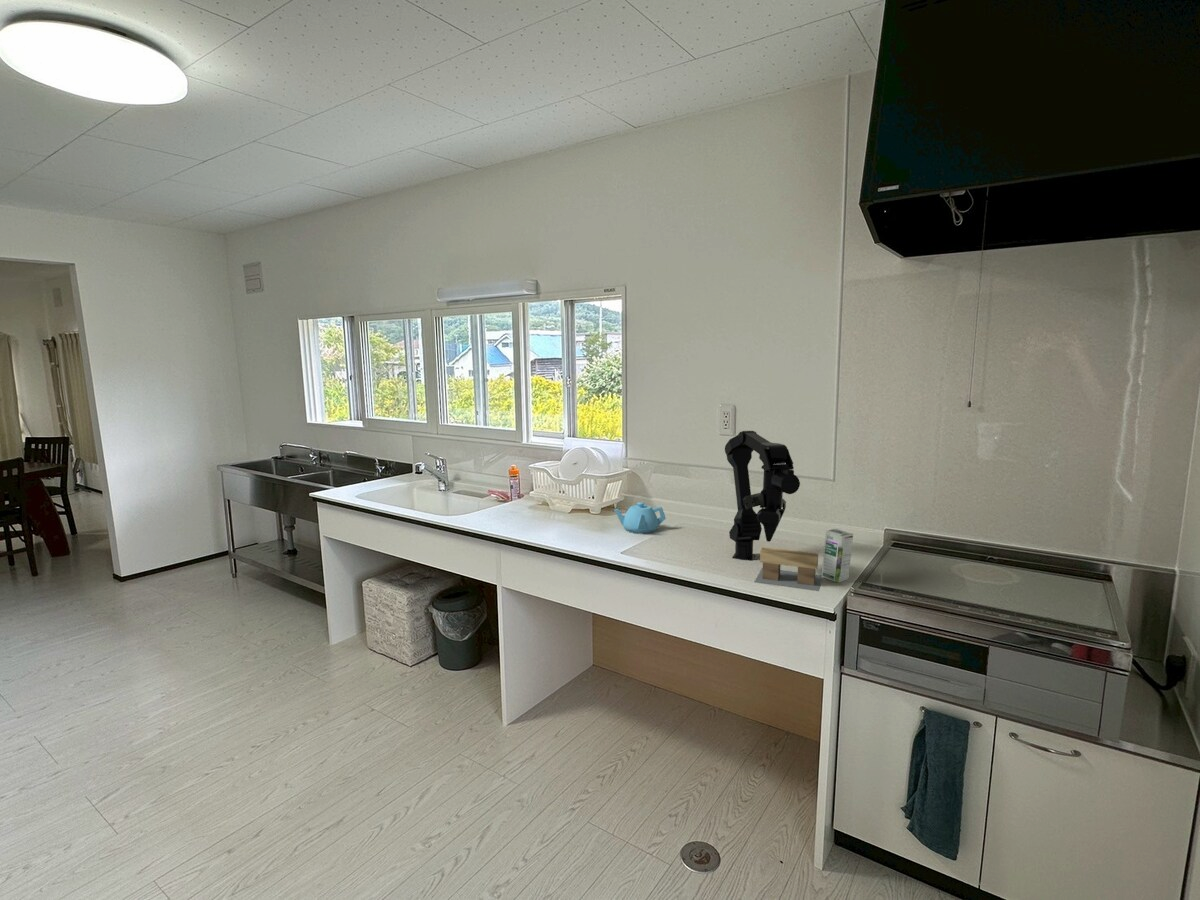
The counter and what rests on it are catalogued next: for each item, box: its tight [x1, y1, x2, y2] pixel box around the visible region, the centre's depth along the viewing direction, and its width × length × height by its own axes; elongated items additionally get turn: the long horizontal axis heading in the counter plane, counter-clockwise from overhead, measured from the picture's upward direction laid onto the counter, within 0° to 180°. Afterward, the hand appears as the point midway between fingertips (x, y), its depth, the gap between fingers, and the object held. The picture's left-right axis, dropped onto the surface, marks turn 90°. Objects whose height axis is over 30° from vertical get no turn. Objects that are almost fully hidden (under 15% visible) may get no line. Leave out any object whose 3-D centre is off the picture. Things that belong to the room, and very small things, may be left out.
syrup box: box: [821, 528, 854, 583], centre depth 182 cm, size 6×6×14 cm
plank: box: [759, 546, 819, 570], centre depth 181 cm, size 4×16×4 cm, turn 66°
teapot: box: [613, 501, 667, 534], centre depth 238 cm, size 15×15×11 cm
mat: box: [754, 567, 823, 592], centre depth 183 cm, size 14×18×1 cm
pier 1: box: [762, 562, 781, 581], centre depth 183 cm, size 4×4×5 cm
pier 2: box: [797, 567, 817, 586], centre depth 179 cm, size 4×4×5 cm
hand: (770, 536), depth 185 cm, fingers open, 9 cm apart
